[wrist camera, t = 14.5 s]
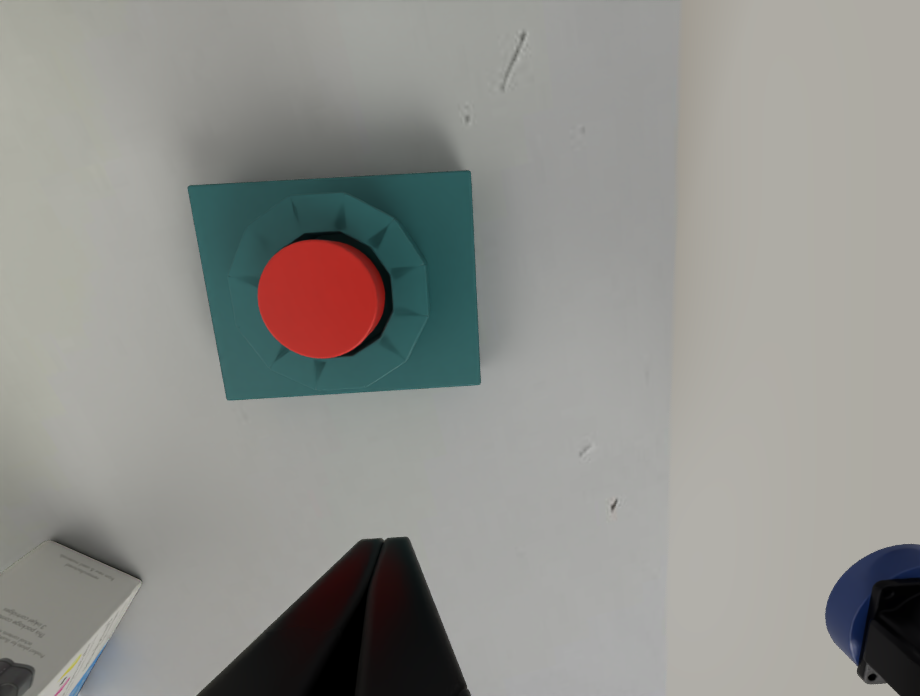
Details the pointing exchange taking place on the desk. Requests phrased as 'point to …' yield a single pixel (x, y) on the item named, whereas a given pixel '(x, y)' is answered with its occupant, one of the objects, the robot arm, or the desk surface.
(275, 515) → the desk surface
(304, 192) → the control block
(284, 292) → the button
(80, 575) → the ink box
